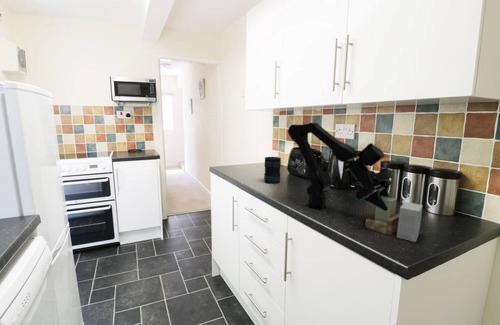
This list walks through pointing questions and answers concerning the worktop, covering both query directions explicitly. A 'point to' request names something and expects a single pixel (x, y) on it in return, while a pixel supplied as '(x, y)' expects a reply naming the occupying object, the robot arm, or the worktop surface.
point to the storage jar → (272, 170)
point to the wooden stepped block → (384, 225)
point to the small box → (409, 221)
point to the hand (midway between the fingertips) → (389, 208)
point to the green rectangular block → (385, 215)
